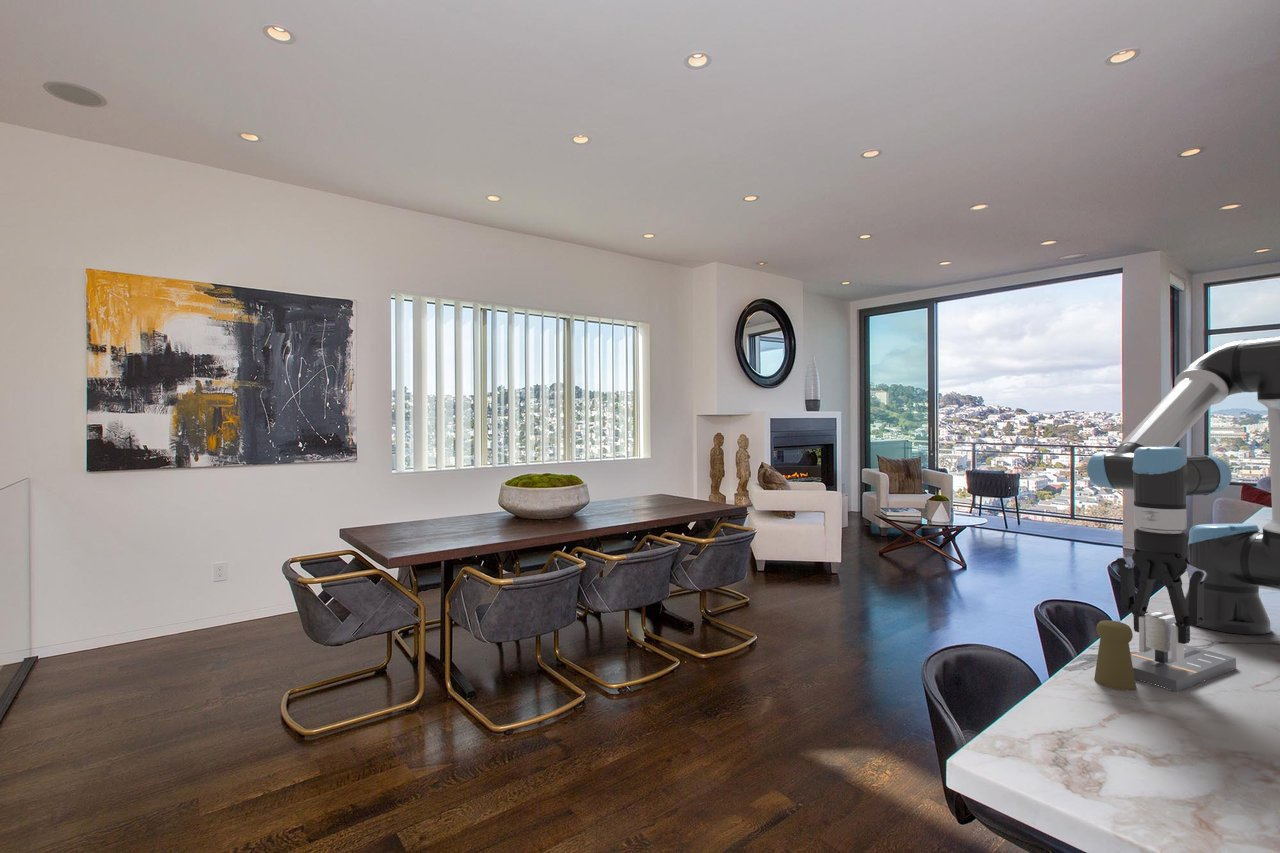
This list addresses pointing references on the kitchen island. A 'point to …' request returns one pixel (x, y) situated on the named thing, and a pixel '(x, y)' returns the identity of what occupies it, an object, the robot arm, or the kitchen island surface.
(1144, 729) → the kitchen island surface
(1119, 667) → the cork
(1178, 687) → the fader console
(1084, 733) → the kitchen island surface
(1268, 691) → the kitchen island surface
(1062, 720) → the kitchen island surface
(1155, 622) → the fader knob
